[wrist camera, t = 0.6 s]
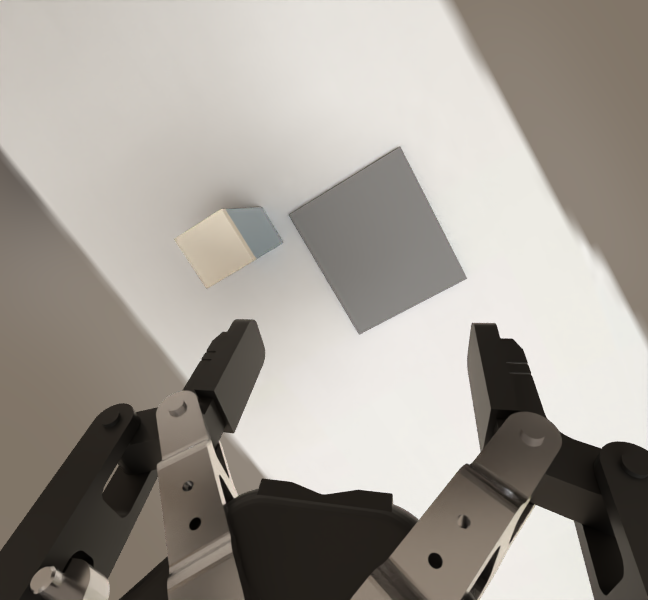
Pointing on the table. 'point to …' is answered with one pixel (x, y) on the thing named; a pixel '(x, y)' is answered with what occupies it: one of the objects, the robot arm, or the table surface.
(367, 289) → the mat
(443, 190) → the table surface
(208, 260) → the blue block
